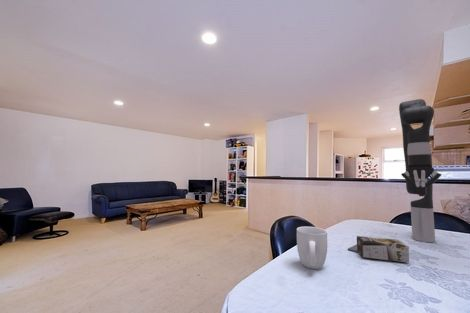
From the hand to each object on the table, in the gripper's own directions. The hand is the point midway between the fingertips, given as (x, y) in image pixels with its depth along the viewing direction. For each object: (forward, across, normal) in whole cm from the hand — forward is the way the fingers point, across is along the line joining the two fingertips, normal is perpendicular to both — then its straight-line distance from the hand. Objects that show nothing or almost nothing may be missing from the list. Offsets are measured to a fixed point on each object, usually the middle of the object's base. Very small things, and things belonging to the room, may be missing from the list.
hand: (421, 196), depth 87 cm
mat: (+26, +17, +4) cm, 31 cm away
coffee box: (+22, +6, +6) cm, 23 cm away
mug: (+26, +25, +42) cm, 55 cm away
